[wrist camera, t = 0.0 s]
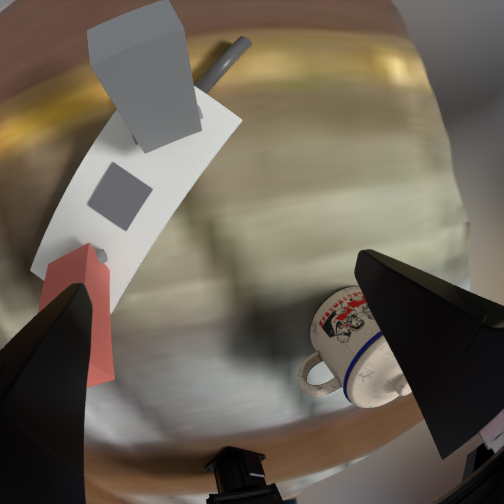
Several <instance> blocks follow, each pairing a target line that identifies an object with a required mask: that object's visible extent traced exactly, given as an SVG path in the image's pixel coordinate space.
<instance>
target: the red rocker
mask: <svg viewBox="0 0 504 504" xmlns="http://www.w3.org/2000/svg"><path fill="white" fill-rule="evenodd" d="M107 261H108V258H107V254H106V252H105V251H104V249H100V250H98V251H95V250H94V249H93V247H92V246H91V244H90V243H87V244H85V245H83V246H81V247H79V248H77V249H76V250H74V251H72V252H70V253H68V254H66V255H64V256H62V257H60V258H58V259H56V260H55V261H53V262H51V263H49V264H48V267H47V271H46V276H45V280H44V285H43V290H42V295H41V300H40V306H39V312H40V311H41V310H42V309H43V308H45V307H46V306H47V305H48V304H49V303H50V302H51V301H52V300H53V299H55V298H56V297H57V296H58V295H59V294H60V293H61V292H62V291H64V290H65V289H66V288H67V287H68V286H69V285H70V284H72V283H84V285H85V286H86V289H87V292H88V294H89V297H90V299H91V302H92V306H93V315H92V334H91V353H90V362H89V370H88V379H87V388H88V387H91V386H94V385H98V384H101V383H104V382H108V381H111V380H114V379H115V377H114V367H113V356H112V342H111V323H110V270H109V269H108V267H107V266H106V265H105V262H107ZM39 312H38V313H39Z"/></svg>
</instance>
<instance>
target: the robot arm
mask: <svg viewBox="0 0 504 504" xmlns="http://www.w3.org/2000/svg"><path fill="white" fill-rule="evenodd" d="M354 274H355V278H356V280H357V282H358V285H359V287H360V289H361V291H362V294H363V296H364V298H365V300H366V303H367V305H368V307H369V310H370V312H371V314H372V315H373V317H374V319H375V321H376V323H377V325H378V326H379V328H380V330H381V332H382V334H383V336H384V338H385V339H386V341H387V343H388V345H389V347H390V349H391V351H392V353H393V355H394V357H395V359H396V361H397V363H398V364H399V366H400V368H401V370H402V372H403V374H404V376H405V378H406V381H407V383H408V385H409V387H410V389H411V391H412V393H413V395H414V397H415V399H416V401H417V403H418V406H419V408H420V410H421V412H422V415H423V417H424V419H425V421H426V424H427V426H428V428H429V430H430V433H431V435H432V437H433V440H434V442H435V444H436V447H437V449H438V452H439V454H440V456H441V458H442V460H444V459H445V458H447V457H448V456H450V455H451V454H453V453H454V452H456V451H457V450H458V449H460V448H461V447H463V446H464V445H465V444H466V443H468V442H469V441H471V440H472V439H473V438H474V437H475V436H477V435H479V436H480V438H481V439H482V441H483V443H482V444H480V445H479V446H478V447H477V448H476V449H474V450H473V451H472V452H471V453H469V454H468V455H467V460H466V466H465V470H464V474H463V479H462V482H460V483H459V484H458V485H456V486H455V487H454V488H452V489H451V490H450V491H448V492H447V493H445V494H444V495H442V496H441V497H439V498H438V499H437V500H435V501H433V502H432V503H430V504H504V306H503V305H500V304H498V303H495V302H493V301H491V300H488V299H486V298H483V297H481V296H478V295H476V294H474V293H471V292H469V291H467V290H465V289H462V288H460V287H458V286H456V285H454V286H453V284H451V283H449V282H447V281H444V280H442V279H440V278H438V277H435V276H433V275H431V274H429V273H426V272H424V271H422V270H419V269H417V268H415V267H412V266H410V265H408V264H405V263H403V262H401V261H398V260H396V259H393V258H391V257H389V256H386V255H384V254H381V253H379V252H376V251H374V250H371V249H367V250H361V251H360V252H359V253H358V257H357V262H356V266H355V271H354ZM92 315H93V306H92V302H91V299H90V297H89V294H88V292H87V289H86V286H85V285H84V283H72V284H70V285H69V286H68V287H67V288H66V289H65V290H64V291H62V292H61V293H60V294H59V295H58V296H57V297H56V298H55V299H53V300H52V301H51V302H50V303H49V304H48V305H47V306H46V307H45V308H43V309H42V310H41V311H40V312H39V313H38V314H37V315H36V316H35V317H34V318H33V319H32V320H31V321H30V322H29V323H27V324H26V325H25V326H24V327H23V328H22V329H21V330H20V331H19V332H18V333H17V334H16V335H15V336H14V337H13V338H12V339H11V340H10V341H9V342H8V343H7V344H6V345H5V346H4V348H2V349H1V350H0V504H86V499H85V484H84V475H83V474H84V418H85V402H86V390H87V379H88V370H89V362H90V353H91V334H92ZM265 458H266V457H265V455H263V454H258V453H254V452H249V451H245V450H241V449H237V448H233V447H228V448H226V449H225V450H224V451H223V452H222V453H220V454H219V455H218V456H217V457H216V458H215V459H213V460H212V461H211V462H210V463H208V464H207V465H206V466H205V470H206V471H210V472H214V474H215V479H216V484H217V490H218V494H209V498H208V499H206V503H207V504H284V502H283V500H282V498H281V495H280V493H279V491H278V489H277V487H276V484H275V483H273V484H271V485H266V482H265V479H264V477H265V473H264V470H263V467H262V464H261V462H262V461H263V460H264V459H265Z"/></svg>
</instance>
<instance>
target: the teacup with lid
mask: <svg viewBox="0 0 504 504" xmlns="http://www.w3.org/2000/svg"><path fill="white" fill-rule="evenodd" d="M310 337H311V342H312V344H313V347H314V348H315V350H316V351H317V352H315V353H314V354H312V355H311V356H309V357H308V358H307V359H306V360H305V361H304V362H303V363H302V364H301V366H300V369H299V372H298V381H299V384H300V386H301V388H302V390H303V391H304V392H305V393H306V394H308V395H310V396H324V395H327V394H330V393H332V392H334V391H335V390H337V389H339V388H341V387H342V388H343V391H344V394H345V397H346V398H347V399H348V401H350V402H351V403H353V404H354V405H356V406H359V407H363V408H372V407H377V406H381V405H383V404H386V403H388V402H390V401H392V400H393V399H395V398H396V397H398V396H399V395H400V396H405V395H408V394H409V393H411V392H412V391H411V389H410V387H409V385H408V383H407V381H406V378H405V376H404V374H403V372H402V370H401V368H400V366H399V364H398V363H397V361H396V359H395V357H394V355H393V353H392V351H391V349H390V347H389V345H388V343H387V341H386V339H385V338H384V336H383V334H382V332H381V330H380V328H379V326H378V325H377V323H376V321H375V319H374V317H373V315H372V314H371V312H370V310H369V307H368V305H367V303H366V300H365V298H364V296H363V294H362V291H361V289H360V287H349V288H345V289H343V290H340V291H338V292H336V293H335V294H333V295H332V296H331V297H329V298H328V299H327V300H326V301H325V302H324V303H323V304H322V305H321V307H320V308H319V309H318V311H317V312H316V314H315V316H314V318H313V321H312V324H311V330H310ZM321 361H324V362H325V364H326V365H327V367H328V368H329V369H330V371H331V372H332V374H333V375H334V376H335V378H333V379H332V380H330V381H328V382H326V383H324V384H321V385H311V384H309V383H307V376H308V373H309V371H310V370H311V369H312V368H313V367H314V366H315V365H317V364H318V363H320V362H321Z"/></svg>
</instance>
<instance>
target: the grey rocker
mask: <svg viewBox="0 0 504 504" xmlns="http://www.w3.org/2000/svg"><path fill="white" fill-rule="evenodd" d="M87 38H88V48H89V57H90V65H91V67H92V69H93V71H94V72H95V74H96V76H97V77H98V79H99V81H100V82H101V84H102V86H103V87H104V89H105V91H106V92H107V94H108V96H109V97H110V99H111V101H112V102H113V104H114V106H115V107H116V109H117V110H118V112H119V114H120V115H121V117H122V118H123V120H124V122H125V123H126V125H127V126H128V128H129V130H130V131H131V133H132V137H133V140H134V142H135V144H136V145H138V144H139V145H140V147H141V148H142V150H143V152H144V153H145V154H146V153H148V152H151V151H153V150H155V149H157V148H160V147H162V146H165V145H167V144H169V143H172V142H174V141H177V140H179V139H182V138H184V137H187V136H190V135H192V134H195V133H198V132H200V131H202V126H201V121H200V119H203V115H202V112H201V109H200V107H199V105H197V100H196V94H195V89H194V83H193V78H192V72H191V66H190V61H189V55H188V49H187V43H186V37H185V31H184V27H183V26H182V24H181V22H180V20H179V18H178V16H177V14H176V13H175V11H174V9H173V7H172V5H171V3H170V2H169V0H162V1H159V2H155V3H152V4H149V5H147V6H144V7H141V8H138V9H136V10H133V11H130V12H128V13H125V14H123V15H120V16H118V17H116V18H113V19H111V20H109V21H106V22H104V23H102V24H100V25H98V26H95V27H93V28H91V29H89V30H87Z"/></svg>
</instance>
